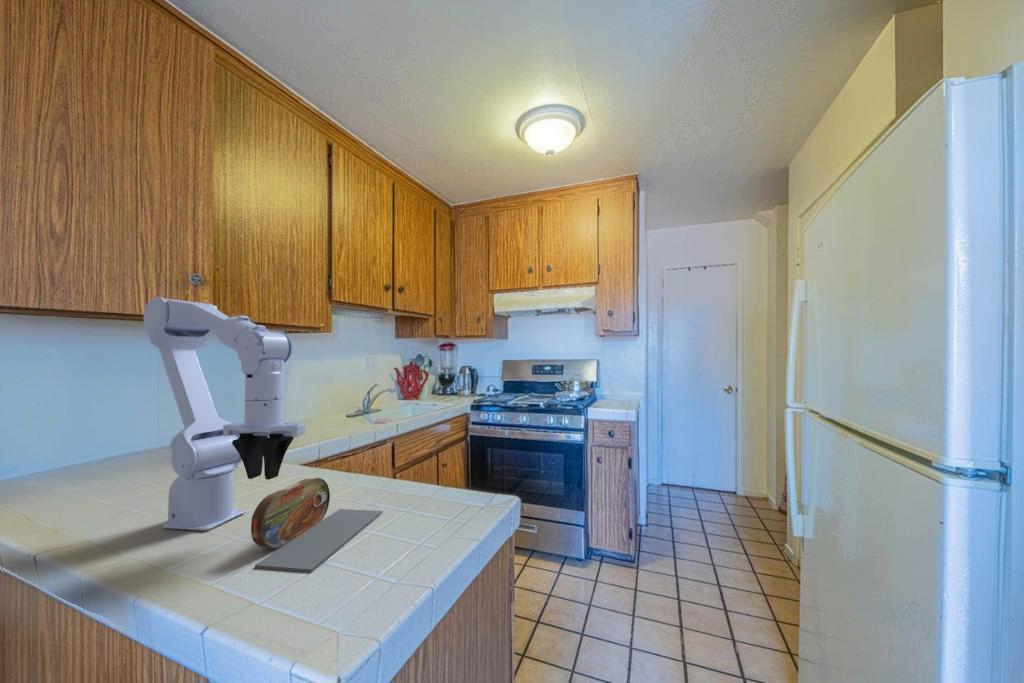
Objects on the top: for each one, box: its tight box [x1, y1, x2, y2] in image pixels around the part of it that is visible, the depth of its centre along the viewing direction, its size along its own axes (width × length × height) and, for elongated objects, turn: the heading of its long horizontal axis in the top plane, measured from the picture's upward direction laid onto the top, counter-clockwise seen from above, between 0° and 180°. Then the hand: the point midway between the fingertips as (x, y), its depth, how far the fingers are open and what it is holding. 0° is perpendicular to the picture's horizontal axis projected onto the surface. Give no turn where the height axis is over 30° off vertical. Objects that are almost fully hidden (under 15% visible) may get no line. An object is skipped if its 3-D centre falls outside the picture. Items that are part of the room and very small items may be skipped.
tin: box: [250, 477, 331, 549], centre depth 63 cm, size 15×3×8 cm, turn 168°
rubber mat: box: [254, 508, 383, 573], centre depth 62 cm, size 9×20×1 cm, turn 171°
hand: (263, 477), depth 64 cm, fingers open, 3 cm apart
